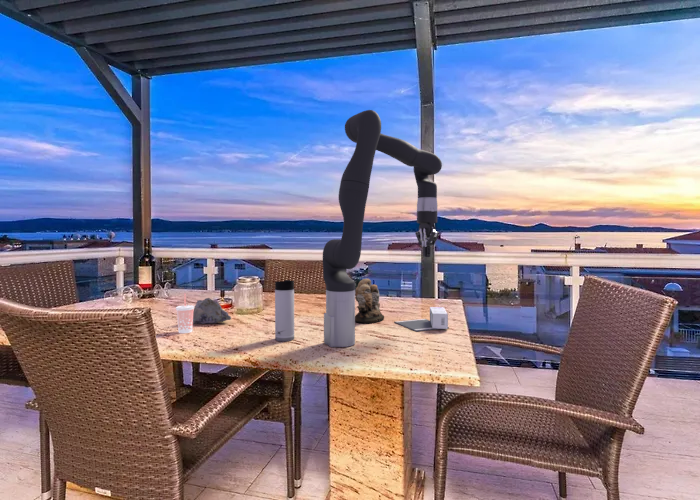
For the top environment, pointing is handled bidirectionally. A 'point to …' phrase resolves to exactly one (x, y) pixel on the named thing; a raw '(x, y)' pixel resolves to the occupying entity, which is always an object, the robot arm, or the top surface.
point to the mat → (417, 325)
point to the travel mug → (284, 310)
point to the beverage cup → (185, 317)
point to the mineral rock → (209, 312)
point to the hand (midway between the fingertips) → (426, 256)
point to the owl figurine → (368, 303)
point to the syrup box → (438, 318)
